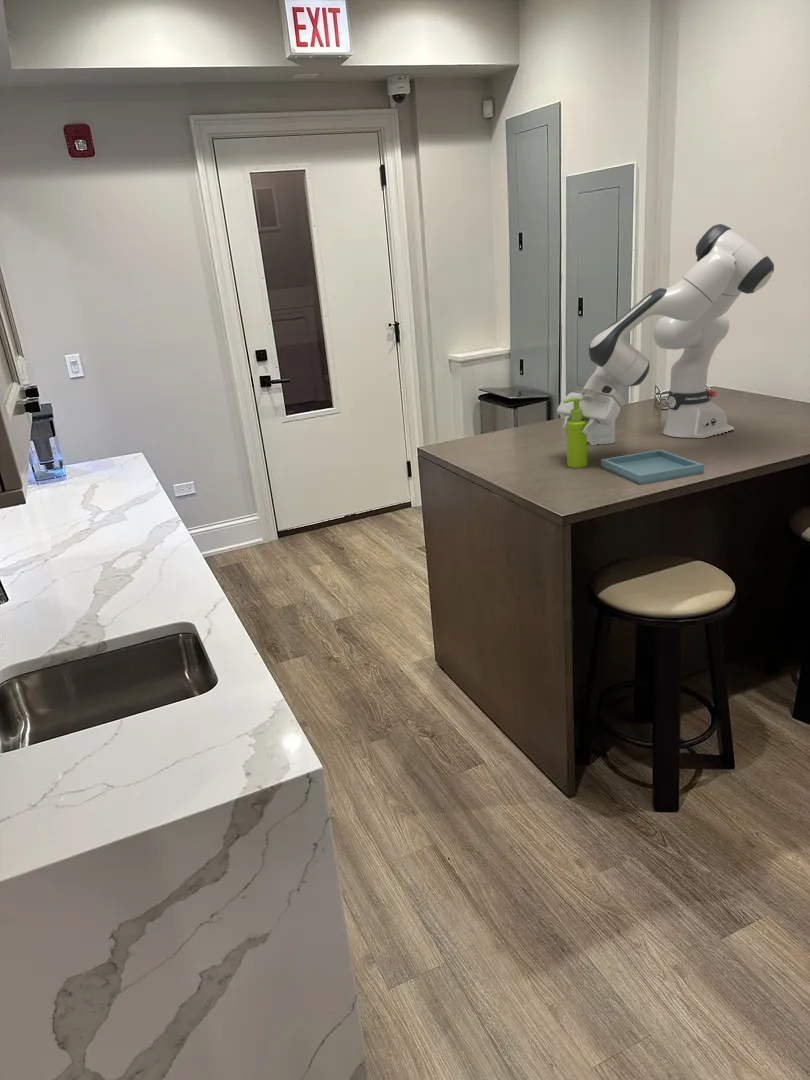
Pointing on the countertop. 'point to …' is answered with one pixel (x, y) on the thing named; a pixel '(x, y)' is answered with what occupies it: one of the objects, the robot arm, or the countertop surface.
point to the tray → (652, 466)
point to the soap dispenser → (576, 437)
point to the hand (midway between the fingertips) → (574, 431)
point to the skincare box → (601, 434)
